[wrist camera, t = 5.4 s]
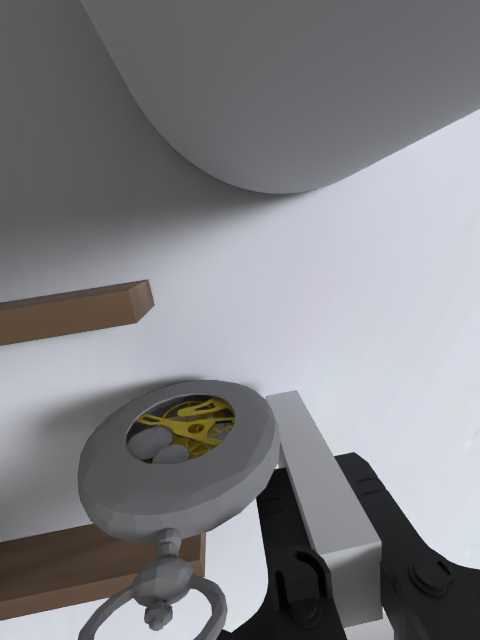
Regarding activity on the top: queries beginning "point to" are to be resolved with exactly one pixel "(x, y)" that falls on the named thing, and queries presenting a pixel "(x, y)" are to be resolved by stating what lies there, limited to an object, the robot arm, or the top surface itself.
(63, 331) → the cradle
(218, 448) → the pocket watch
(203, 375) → the top surface
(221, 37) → the cylinder vase
